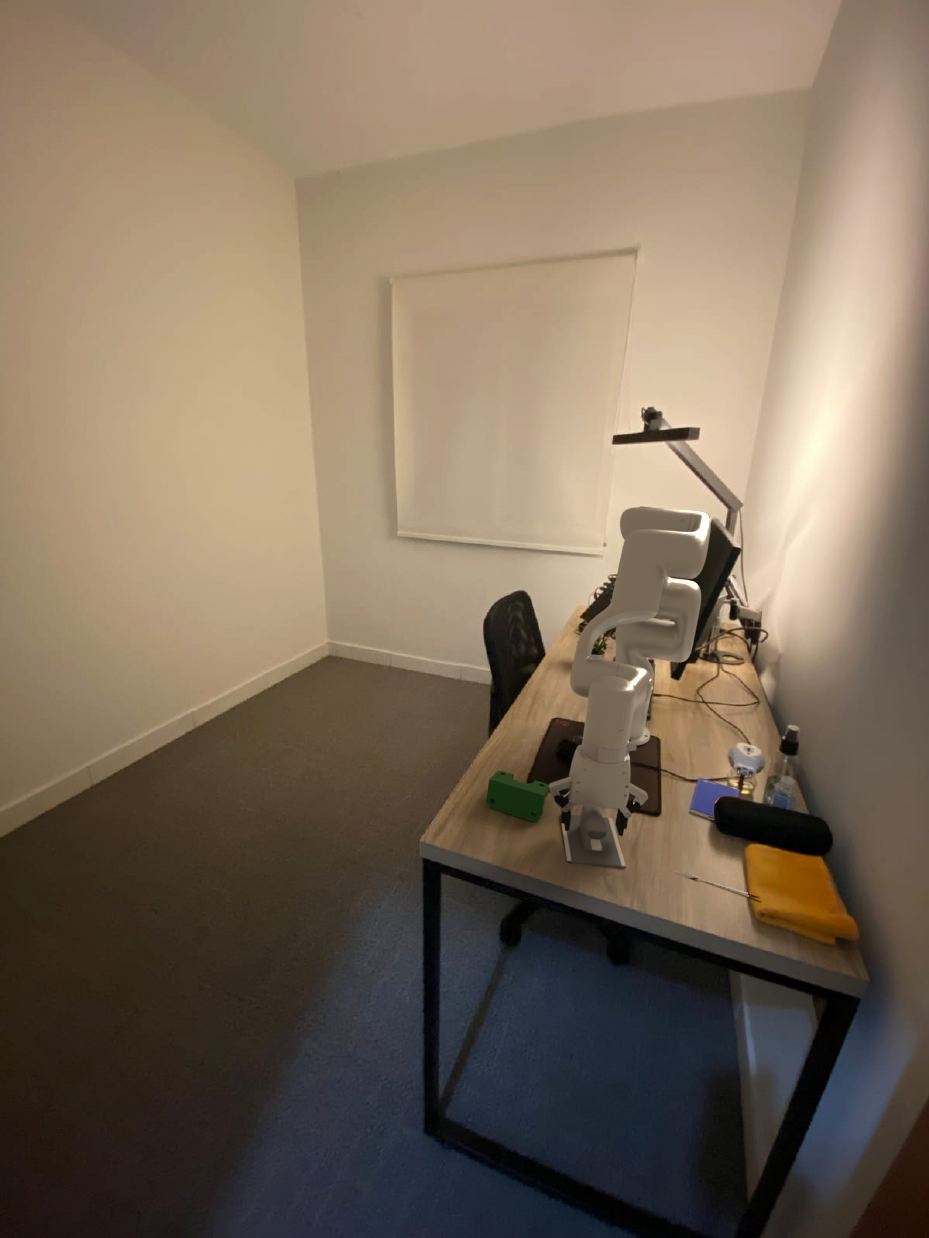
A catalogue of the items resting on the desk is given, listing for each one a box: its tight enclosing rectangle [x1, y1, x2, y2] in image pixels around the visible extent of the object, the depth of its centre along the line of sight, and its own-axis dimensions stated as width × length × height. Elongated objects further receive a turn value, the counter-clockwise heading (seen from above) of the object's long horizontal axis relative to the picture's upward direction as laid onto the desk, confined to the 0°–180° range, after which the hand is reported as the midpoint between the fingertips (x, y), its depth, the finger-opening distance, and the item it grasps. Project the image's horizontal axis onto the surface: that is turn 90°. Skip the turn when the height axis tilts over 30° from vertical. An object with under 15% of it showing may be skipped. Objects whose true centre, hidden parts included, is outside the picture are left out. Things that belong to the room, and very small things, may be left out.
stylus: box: [667, 869, 749, 898], centre depth 83 cm, size 4×1×19 cm
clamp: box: [485, 770, 550, 822], centre depth 98 cm, size 12×6×9 cm, turn 60°
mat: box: [559, 813, 627, 869], centre depth 91 cm, size 12×10×1 cm
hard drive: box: [689, 777, 740, 821], centre depth 102 cm, size 2×8×12 cm
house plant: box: [575, 619, 615, 660], centre depth 166 cm, size 14×14×16 cm
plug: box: [579, 805, 607, 851], centre depth 89 cm, size 8×4×6 cm, turn 175°
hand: (592, 828), depth 90 cm, fingers open, 9 cm apart
